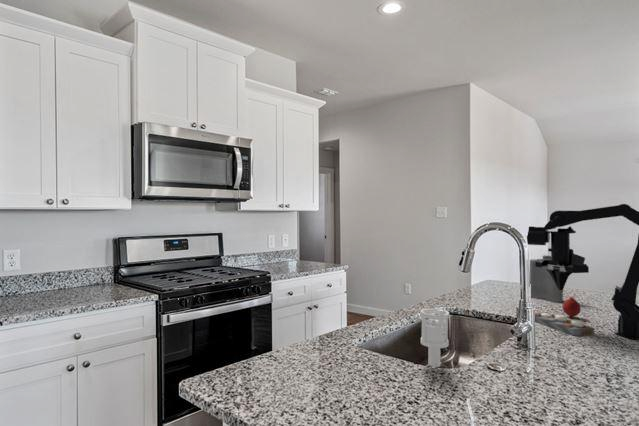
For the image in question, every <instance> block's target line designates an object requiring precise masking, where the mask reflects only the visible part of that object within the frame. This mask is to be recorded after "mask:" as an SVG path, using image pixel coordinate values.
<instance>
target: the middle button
mask: <svg viewBox="0 0 639 426" xmlns="http://www.w3.org/2000/svg"><path fill="white" fill-rule="evenodd" d="M554 315H555V319H556V321H559V322H567V319H568V315H565V314H564V315H563V314H554Z"/></svg>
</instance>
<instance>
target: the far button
mask: <svg viewBox="0 0 639 426" xmlns="http://www.w3.org/2000/svg"><path fill="white" fill-rule="evenodd" d="M540 313H541V316H544V317H552V315H553V314H551V313H549V312H546V313H545V312H540Z"/></svg>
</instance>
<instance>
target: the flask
mask: <svg viewBox="0 0 639 426" xmlns="http://www.w3.org/2000/svg"><path fill="white" fill-rule="evenodd" d="M542 259H551V255H545V254H544V255H543V256H542ZM536 260H537V259H533V258H532V259H530V260H529V285H530V284H531V297H530V298H532V299H540V300H542V301H543V300H544V301H549V302H552V303H558V304H559V303H564V302H563V299H564V298H563V295H564V289H563V290H559V289H558V287H557V286H556V284H555V282H554V280H553V278H552V277H551V275H550V273H549V272H548V271H547V269H548V266H542V267H535V261H536Z"/></svg>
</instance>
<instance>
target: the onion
mask: <svg viewBox="0 0 639 426" xmlns="http://www.w3.org/2000/svg"><path fill="white" fill-rule="evenodd" d="M568 297H569V298H568V299H566V300H565V301H564V302H562V303H563V304H562V310H563V313H564V314H566V316H567V317H569V318H574V317H576V316H578V315H579V314H580V312H581V305H580V304H579V303H580V302H578V301H577V300H576V299H575V298H573V296H568Z"/></svg>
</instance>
